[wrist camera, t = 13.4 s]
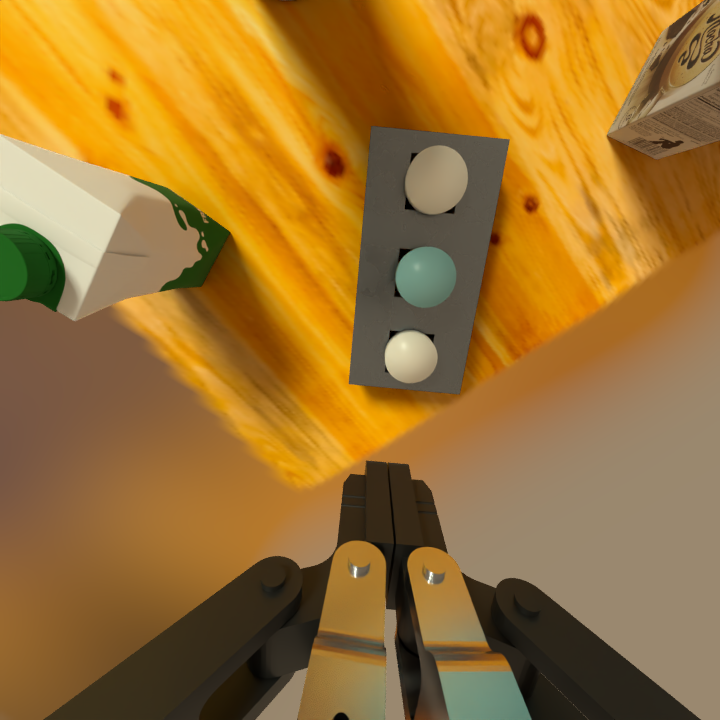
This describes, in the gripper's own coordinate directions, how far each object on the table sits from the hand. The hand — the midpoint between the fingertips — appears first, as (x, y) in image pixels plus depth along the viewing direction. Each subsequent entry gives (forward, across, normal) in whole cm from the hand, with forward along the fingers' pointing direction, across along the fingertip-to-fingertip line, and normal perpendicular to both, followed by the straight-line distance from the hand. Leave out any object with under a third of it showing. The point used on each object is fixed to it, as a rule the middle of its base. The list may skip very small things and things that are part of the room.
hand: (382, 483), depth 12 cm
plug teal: (+26, -4, -6) cm, 27 cm away
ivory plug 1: (+28, -4, -14) cm, 32 cm away
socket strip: (+29, -4, -6) cm, 30 cm away
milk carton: (+29, +21, -7) cm, 37 cm away
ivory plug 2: (+28, -4, +2) cm, 29 cm away
